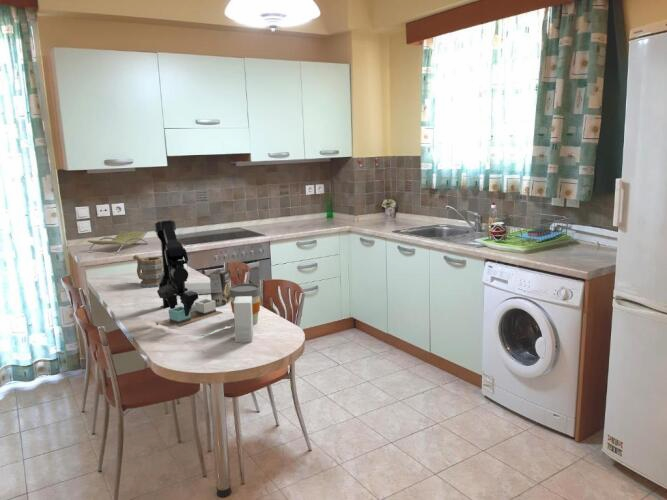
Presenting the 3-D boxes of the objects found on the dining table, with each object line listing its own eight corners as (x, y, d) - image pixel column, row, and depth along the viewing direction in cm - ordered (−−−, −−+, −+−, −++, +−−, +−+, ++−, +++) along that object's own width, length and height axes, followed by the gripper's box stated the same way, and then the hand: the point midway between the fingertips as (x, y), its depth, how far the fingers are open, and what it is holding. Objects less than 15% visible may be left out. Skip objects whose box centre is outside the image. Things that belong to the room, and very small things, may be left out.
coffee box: (224, 309, 236) (222, 273, 233) (211, 308, 238) (209, 273, 234) (232, 303, 245) (230, 269, 242) (219, 302, 246) (217, 268, 243)
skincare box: (237, 335, 203) (234, 296, 200) (254, 334, 204) (252, 295, 201) (235, 343, 195) (232, 302, 192) (253, 342, 196) (251, 301, 192)
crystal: (227, 281, 269) (179, 283, 267) (226, 277, 263) (176, 279, 260) (227, 295, 267) (179, 297, 265) (226, 292, 260) (176, 294, 258)
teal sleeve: (181, 317, 221) (181, 306, 220) (190, 320, 217) (190, 308, 216) (169, 321, 216) (168, 309, 215) (178, 324, 212) (177, 312, 211)
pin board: (162, 324, 217) (161, 310, 216) (205, 310, 234) (204, 297, 233) (180, 330, 210) (179, 315, 209) (223, 315, 227) (222, 302, 226)
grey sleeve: (195, 313, 226) (194, 302, 225) (206, 309, 231) (206, 298, 230) (204, 315, 222) (203, 304, 221) (215, 312, 227) (215, 300, 226)
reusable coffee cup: (248, 329, 209) (246, 293, 206) (224, 324, 215) (222, 289, 212) (268, 320, 219) (266, 285, 216) (245, 316, 226) (243, 282, 223)
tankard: (171, 283, 283) (168, 255, 280) (151, 288, 273) (149, 260, 270) (146, 278, 294) (144, 252, 291) (126, 283, 283) (124, 256, 280)
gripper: (145, 277, 212) (149, 314, 215) (174, 284, 201) (177, 323, 204) (169, 272, 221) (172, 308, 224) (197, 278, 210) (200, 316, 213)
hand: (179, 313), depth 216 cm, fingers open, 9 cm apart
